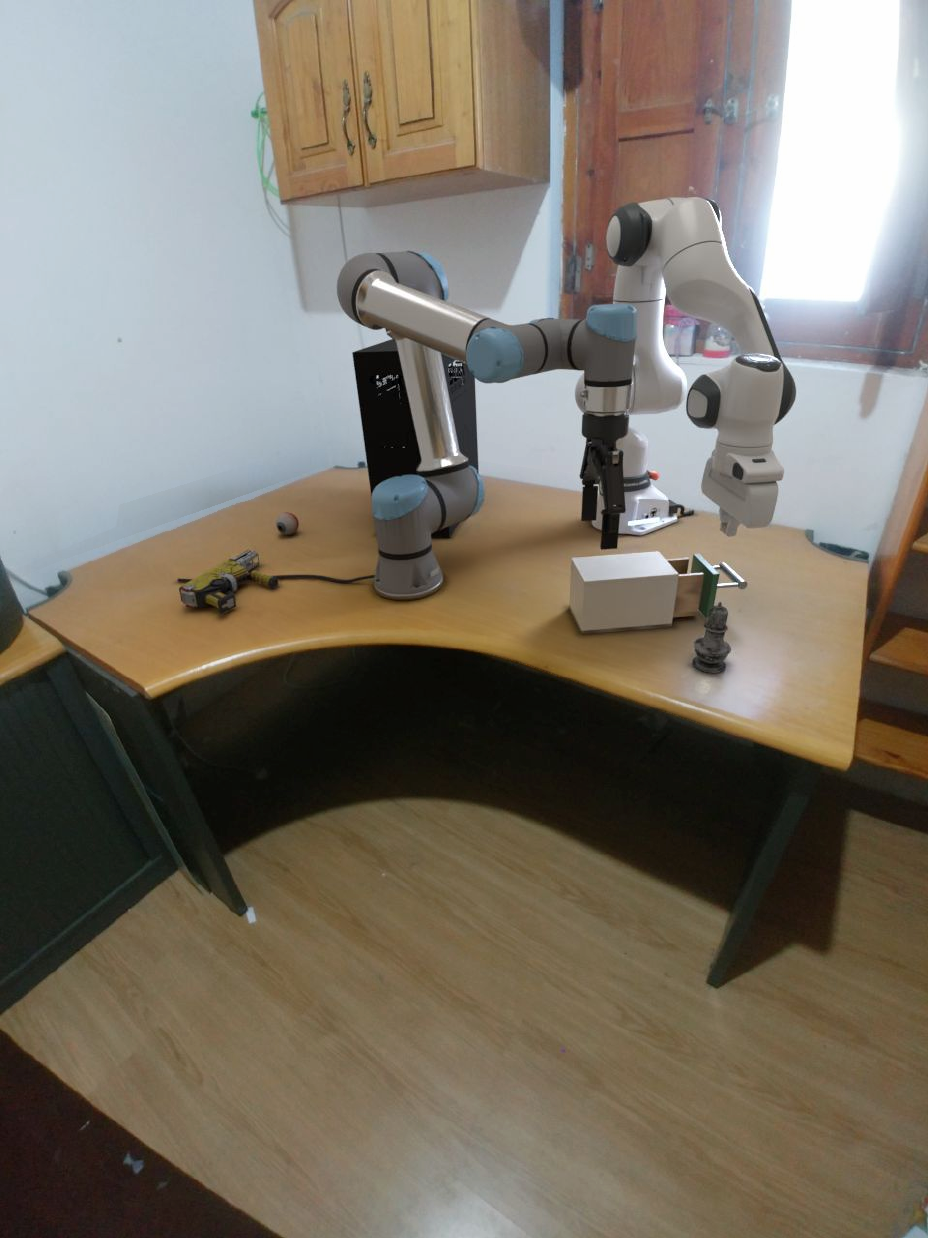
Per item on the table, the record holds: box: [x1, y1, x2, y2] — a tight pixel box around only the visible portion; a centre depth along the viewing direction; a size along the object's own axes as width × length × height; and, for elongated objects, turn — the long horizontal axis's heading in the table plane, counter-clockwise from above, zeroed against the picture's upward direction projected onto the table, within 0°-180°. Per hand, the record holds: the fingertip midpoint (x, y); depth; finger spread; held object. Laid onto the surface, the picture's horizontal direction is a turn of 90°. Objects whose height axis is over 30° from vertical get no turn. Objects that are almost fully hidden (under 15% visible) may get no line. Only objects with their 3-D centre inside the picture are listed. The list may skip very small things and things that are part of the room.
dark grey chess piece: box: [692, 601, 732, 674], centre depth 99 cm, size 6×6×12 cm
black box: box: [351, 338, 480, 539], centre depth 164 cm, size 38×20×45 cm, turn 167°
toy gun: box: [178, 549, 279, 615], centre depth 136 cm, size 5×24×15 cm
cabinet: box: [568, 551, 679, 635], centre depth 115 cm, size 17×10×11 cm, turn 94°
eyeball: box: [275, 511, 300, 536], centre depth 163 cm, size 6×6×6 cm
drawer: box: [665, 553, 748, 619], centre depth 115 cm, size 22×9×9 cm, turn 94°
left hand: (598, 533), depth 109 cm, fingers open, 13 cm apart
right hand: (727, 533), depth 110 cm, fingers closed
